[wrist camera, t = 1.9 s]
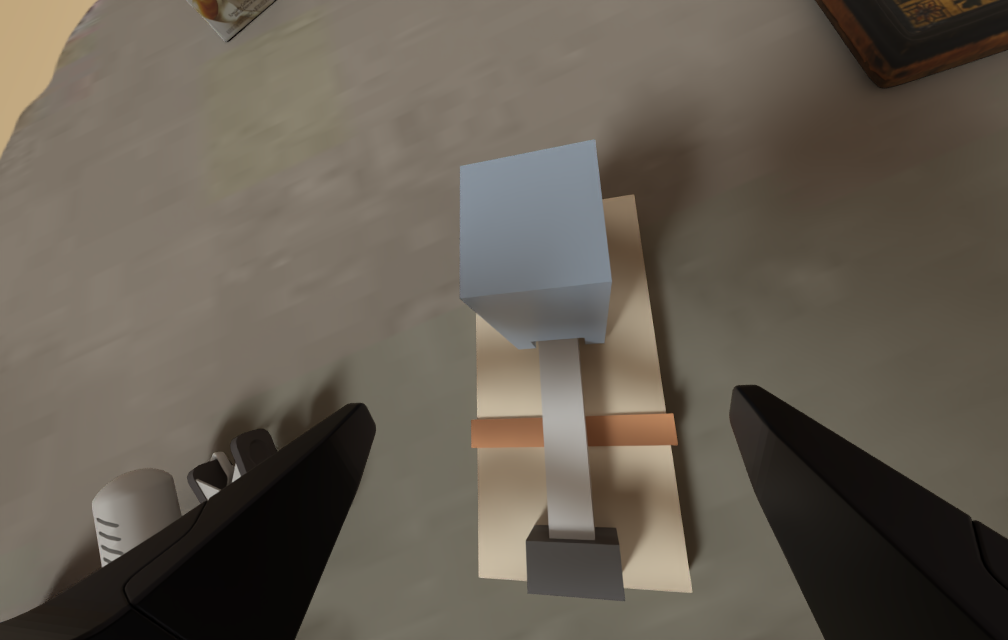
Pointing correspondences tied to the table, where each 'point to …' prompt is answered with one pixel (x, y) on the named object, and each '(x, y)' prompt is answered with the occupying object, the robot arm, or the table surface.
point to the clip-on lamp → (166, 494)
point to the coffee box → (229, 14)
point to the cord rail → (606, 392)
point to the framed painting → (917, 34)
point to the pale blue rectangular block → (536, 245)
